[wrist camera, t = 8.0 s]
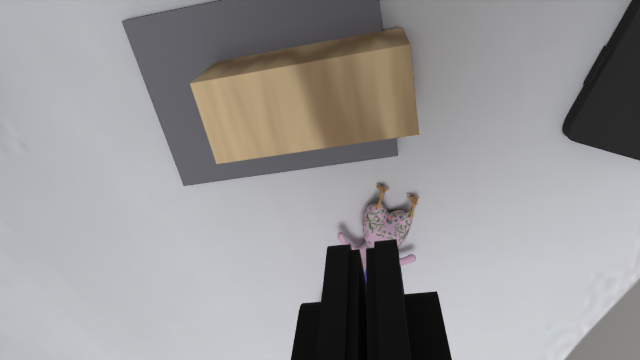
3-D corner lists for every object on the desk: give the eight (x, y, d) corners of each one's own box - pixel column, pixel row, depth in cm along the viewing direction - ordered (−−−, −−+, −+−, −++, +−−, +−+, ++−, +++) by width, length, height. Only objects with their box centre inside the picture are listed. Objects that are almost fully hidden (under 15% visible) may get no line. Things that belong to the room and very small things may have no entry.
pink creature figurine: (357, 169, 34) (298, 325, 39) (361, 198, 29) (293, 375, 34) (433, 194, 35) (366, 344, 40) (452, 227, 29) (372, 397, 34)
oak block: (410, 44, 23) (189, 83, 25) (419, 134, 25) (216, 164, 27) (401, 27, 27) (215, 61, 29) (410, 105, 30) (236, 132, 31)
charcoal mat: (374, -32, 26) (374, -32, 26) (397, 152, 32) (398, 155, 31) (125, 19, 29) (121, 21, 28) (186, 182, 34) (183, 185, 34)
